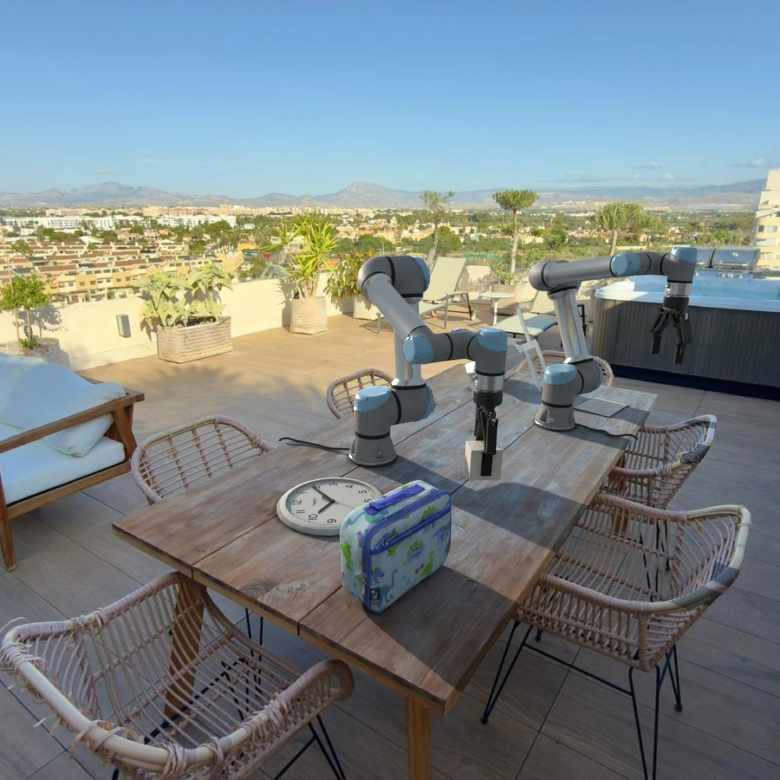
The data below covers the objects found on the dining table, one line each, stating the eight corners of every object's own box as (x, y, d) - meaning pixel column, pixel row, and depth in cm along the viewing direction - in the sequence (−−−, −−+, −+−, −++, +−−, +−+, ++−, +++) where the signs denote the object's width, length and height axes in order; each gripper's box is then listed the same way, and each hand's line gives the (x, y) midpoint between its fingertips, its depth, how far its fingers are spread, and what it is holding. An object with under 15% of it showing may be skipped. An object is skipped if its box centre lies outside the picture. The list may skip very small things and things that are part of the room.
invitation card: (608, 416, 214) (573, 407, 224) (608, 416, 214) (573, 408, 224) (628, 404, 229) (594, 396, 238) (628, 405, 229) (594, 397, 238)
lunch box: (369, 626, 100) (370, 530, 93) (334, 598, 107) (332, 507, 101) (455, 567, 117) (460, 483, 111) (419, 547, 124) (423, 467, 118)
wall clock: (392, 527, 129) (268, 531, 127) (391, 533, 130) (269, 537, 127) (383, 473, 158) (282, 475, 155) (383, 478, 158) (282, 480, 156)
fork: (420, 411, 216) (420, 406, 216) (430, 400, 230) (431, 395, 230) (426, 412, 215) (426, 407, 215) (436, 401, 230) (436, 396, 229)
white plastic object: (486, 420, 263) (466, 398, 238) (467, 347, 285) (447, 319, 261) (558, 397, 251) (544, 370, 226) (532, 322, 273) (517, 290, 248)
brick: (493, 469, 146) (496, 440, 144) (500, 480, 140) (503, 449, 137) (463, 469, 146) (465, 440, 143) (469, 480, 139) (471, 450, 137)
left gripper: (466, 378, 144) (461, 454, 151) (483, 400, 126) (477, 486, 133) (492, 378, 145) (486, 454, 152) (514, 400, 127) (506, 486, 133)
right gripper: (645, 291, 183) (635, 350, 189) (689, 300, 159) (677, 368, 166) (665, 291, 184) (655, 350, 190) (713, 300, 160) (699, 367, 166)
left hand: (482, 469), depth 142 cm, fingers closed on brick, 6 cm apart
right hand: (665, 358), depth 178 cm, fingers open, 13 cm apart
